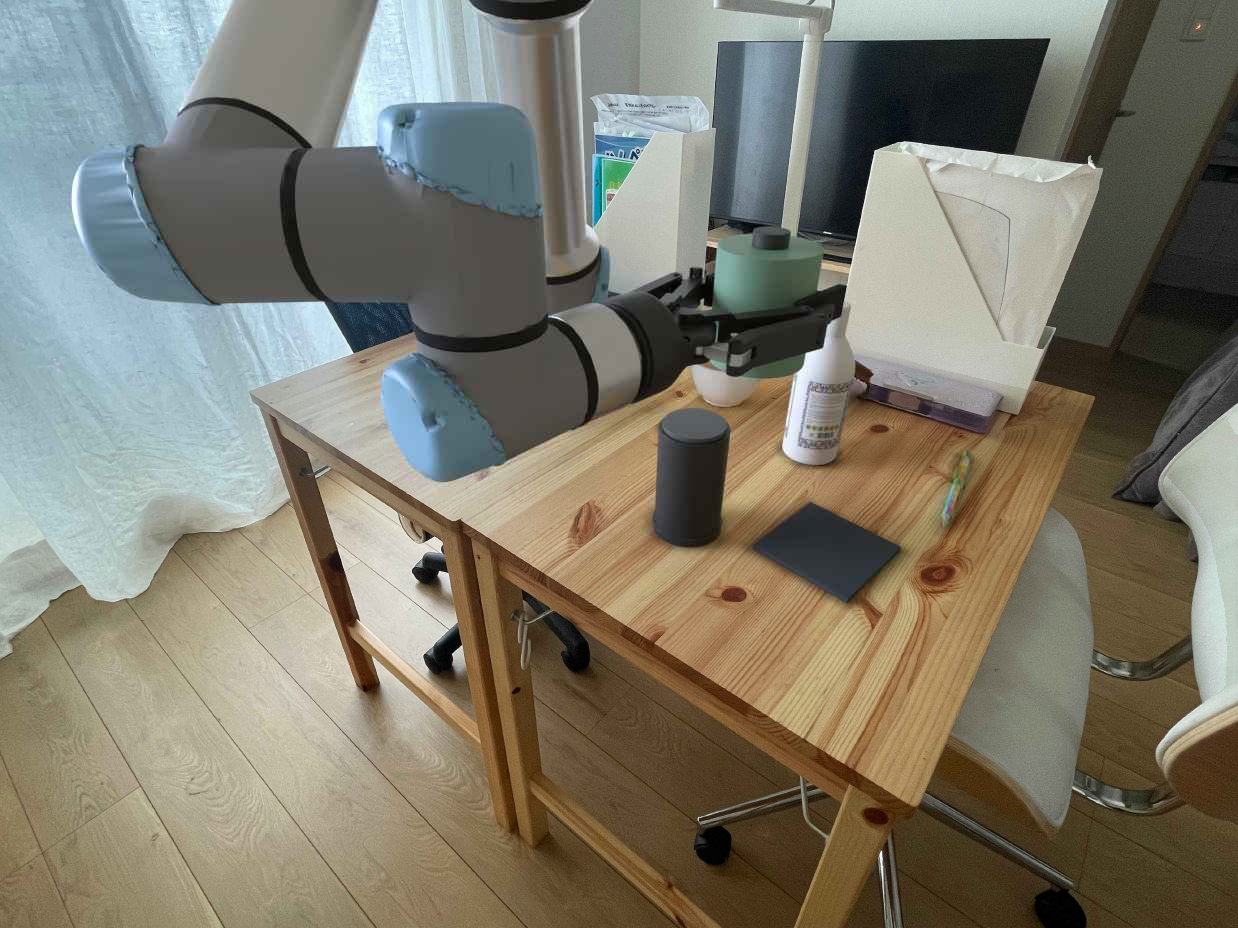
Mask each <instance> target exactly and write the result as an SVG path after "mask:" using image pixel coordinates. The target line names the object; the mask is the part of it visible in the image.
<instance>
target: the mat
mask: <svg viewBox="0 0 1238 928" xmlns="http://www.w3.org/2000/svg"><path fill="white" fill-rule="evenodd" d="M752 549H753V550H754V551H756V552H758V553H760V554H761V555H763V556H765V557H767V558H768V559H770V560H771V561H774V562H775V563H777V564H778V565H781V566H782V567H783V568H785V569H787V570H789V571H791V572H792V573H795V574H796V575H797V576H799V577H801V578H803V579H804V580H806V581H808V582H809V583H811V584H813V585H814V586H816V587H818V588H820V589H821V590H823V591H825V592H826V593H828V594H830V595H832V597H833V596H834V597H835V598H837V599H838V600H841V601H842V602H844V603H845V604H848V603H849V602H850V601H851V600H852V599H853V598H854V597H855V596H856V595H857V594H858V593H859V592H860V591H861V590H862V589H863V588H864V587H865V586H866V585H868V584H869V582H870V581H871V580H873V579H874V578H875V577H876V576H877V575H878V574H879V572H881V571H882V570H883V569H884V568H885V567H886V566H887V565H888V564H889V563H890V562H891V561H892V560H893V559H894V558H895V557H896V556H897V555H898V554H899V553H900V552H901V551H902V546H901V545H899V544H897V543H895V542H892V541H890V540H888V539H887V538H885V537H882V536H881V535H879V534H877V533H874V532H872V531H871V530H868V529H866V528H865V527H862V526H860V525H859V524H856V523H854V522H852V521H850V520H848V519H846V518H844V517H842V516H840V515H838V514H836V513H834V512H832V511H831V510H828V509H827V508H824V507H822V506H820V505H818V504H816V503H814V502H812V501H809V502H807V503H806V504H805V505H804V506H803V507H801V508H800V509H798V510H797V511H796V512H794V513H793V514H792V515H791V516H789V517H788V518H786V519H785V520H784V521H782V522H781V523H779V524H778V525H777V526H776V527H774V528H773V529H772V530H770V531H769V532H768V533H766V534H765V535H763V536H762V537H761V538H759V539H758V540H757V541H756V542H754V543H753V544H752Z"/></svg>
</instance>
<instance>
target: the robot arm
mask: <svg viewBox="0 0 1238 928" xmlns="http://www.w3.org/2000/svg"><path fill="white" fill-rule="evenodd" d="M467 1H468V5H469V6H470V7H471V8H472V9H473V11H475V12H476V13H477V14H478V15H479V16H481V18H483V19H484V20H485V21H486V22H487V24H488V33H489V38H490V45H491V46H490V47H491V52H492V60H493V66H494V73H495V81H496V88H497V95H498V102H486V101H485V102H484V101H441V102H440V101H439V102H409V103H408V102H406V103H400V104H399V103H398V104H391V105H388V106H386V107H385V108H383V109H381V111H380V112H379V114H378V117H377V120H376V124H377V125H376V127H377V132H376V133H377V134H376V135H377V139H376V142H375V143H376V145H369V146H368V145H366V146H364V145H363V146H341V147H340V146H338V145H339V141H340V138H341V134H342V131H343V129H344V124H345V122H346V117H347V114H348V110H349V108H350V104H351V100H352V97H353V95H354V91H355V87H356V84H357V80H358V77H359V73H360V71H361V67H362V63H363V60H364V57H365V55H366V54H365V53H366V50H367V46H368V43H369V39H370V36H371V33H372V29H373V26H374V23H375V20H376V17H377V13H378V10H379V7H380V2H381V0H232V1H231V3H230V5H229V7H228V9H227V11H226V14H225V15H224V17H223V19H222V22H221V23H220V26H219V28H218V30H217V32H216V34H215V36H214V38H213V40H212V42H211V44H210V46H209V48H208V50H207V52H206V54H205V56H204V59H203V60H202V63H201V65H200V66H199V69H198V71H197V73H196V75H195V77H194V78H193V81H192V83H191V85H190V87H189V89H188V91H187V93H186V95H185V97H184V99H183V101H182V103H181V105H180V107H179V109H178V112H177V115H176V118H174V119H173V122H172V124H171V126H170V128H169V130H168V132H167V134H166V136H165V139H164V140H163V142H162V144H159V145H158V146H155V147H149V146H146V145H145V144H143V143H134V144H128V145H127V146H126V147H125V148H123V147H122V148H113V149H112V148H111V149H102V150H100V151H97V152H96V153H93V154H92V155H88V156H87V157H86V158H85V159H83V161H82V162H81V164H80V165H79V166H78V168H77V170H76V173H75V175H74V178H73V181H72V185H71V186H72V187H71V209H72V215H73V221H74V224H75V228H76V230H77V233H78V235H79V238H80V241H81V244H82V245H83V247H84V249H85V251H86V252H87V254H88V256H89V257H90V259H91V261H92V262H93V263H94V265H95V266H96V267H97V268H98V269H100V270H101V271H102V272H103V273H104V275H105V277H106V278H107V279H108V280H110V281H111V282H112V283H113V285H115V286H116V287H117V288H119V289H120V290H123V291H124V292H125V293H128V294H129V295H131V296H134V297H137V298H139V299H142V300H143V299H144V300H148V301H154V302H155V301H156V302H167V303H181V304H192V305H193V304H194V305H195V304H197V305H205V306H208V307H221V306H222V305H223V304H224V305H226V304H228V305H229V304H264V303H265V304H270V303H271V304H272V303H273V304H275V303H276V304H277V303H279V304H281V303H402V304H407V306H408V310H409V314H410V317H411V321H412V328H413V333H414V338H415V344H416V352H412V353H410V354H405V357H403V358H400V359H398V360H396V361H394V362H392V363H390V364H389V365H388V366H387V367H386V369H384V371H383V373H382V376H381V379H380V385H381V393H380V402H381V406H382V412H383V414H384V417H385V421H386V424H387V426H388V429H389V431H390V434H391V436H392V438H393V440H394V441H395V444H396V445H397V448H398V449H399V451H400V453H401V454H402V456H403V457H404V458H405V460H406V461H407V462H408V464H410V466H411V467H412V468H413V469H415V470H416V471H418V472H419V473H420V474H421V475H422V477H424V478H425V479H428V480H430V481H433V482H436V483H449V482H454V481H457V480H459V479H461V478H464V477H467V476H470V475H473V474H475V473H478V472H480V471H483V470H486V469H489V468H491V467H500V466H503V465H505V463H506V462H508V461H510V460H512V459H514V458H516V457H518V456H520V455H522V454H524V453H526V452H528V451H531V450H532V449H534V448H536V447H538V446H541V445H542V444H544V443H547V442H548V441H551V440H552V439H555V438H557V437H558V436H560V435H562V434H565V433H568V432H569V431H574V430H577V429H578V428H581V427H584V426H585V425H587V424H589V423H592V422H593V421H596V420H599V419H601V418H603V417H606V416H608V415H610V414H613V413H615V412H618V411H620V410H622V409H624V408H626V407H627V406H630V405H635V404H637V403H639V402H641V401H644V400H646V399H649V398H651V397H653V396H655V395H658V394H660V393H662V392H665V391H666V390H668V389H669V388H671V387H672V386H673V385H674V384H675V382H676V381H677V380H678V379H679V377H680V376H681V374H682V373H683V372H684V370H685V369H686V368H687V367H691V366H692V365H700V364H705V363H707V362H709V361H710V360H715V361H718V362H721V363H725V364H726V374H727V375H728V376H731V377H740V376H742V375H743V374H745V373H746V372H748V371H749V370H751V369H752V368H755V367H758V366H762V365H766V364H769V363H773V362H776V361H780V360H783V359H787V358H790V357H794V356H797V355H801V354H805V353H808V352H812V351H815V350H819V349H822V348H823V347H824V342H825V336H826V331H827V326H828V324H830V323H831V321H833V320H835V319H837V318H839V317H841V315H842V310H843V305H844V301H845V299H846V295H847V290H848V285H846V284H842V283H838V284H835V285H832V286H830V287H827V288H824V289H821V290H820V291H817V293H814V294H812V295H809V296H807V297H804V298H802V299H799V300H796V304H795V307H787V308H778V309H770V310H761V311H752V312H743V313H734V314H732V313H731V312H730V311H728V310H727V309H725V308H721V309H712V302H713V290H714V279H715V272H712V273H709V274H706V275H705V276H704V268H703V267H701V266H691V267H689V274H688V277H686V279H685V278H683V274H682V273H680V272H678V271H674V272H670V273H668V274H665V275H663V276H661V277H659V278H657V279H655V280H653V281H651V282H648V283H646V284H643V285H641V286H639V287H637V288H634V289H632V290H631V291H628V292H626V293H621V294H616V295H612V296H609V287H610V279H611V252H610V248H609V247H607V246H604V245H603V244H600V241H599V240H600V239H599V237H598V234H597V233H596V232H595V230H594V229H593V228H592V227H591V226H590V225H589V224H587V197H586V196H587V195H586V172H585V171H586V169H585V145H584V117H583V93H582V92H583V90H582V64H581V35H580V19H581V17H582V16H583V15H584V13H585V12H586V11H587V10H588V9H589V8H590V7H591V5H592V4H593V2H594V1H595V0H467ZM702 300H703V306H705V307H707V308H711V309H704V310H698V308H699V307H700V306H701V304H702V303H701V302H702ZM717 321H719V325H718V335H717V342H715V341H716V331H717V325H716V322H717Z"/></svg>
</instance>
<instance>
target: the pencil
mask: <svg viewBox="0 0 1238 928" xmlns="http://www.w3.org/2000/svg"><path fill="white" fill-rule="evenodd" d="M974 457H975V455H974V451H973V450H969V449H966V450H964V451H963V452H962V455H961V458H960V461H959V464H958V468H957V471H956V473H955V477H954V479H953V482H952V485H951V488H950V491H949V493H948V495H947V496H948V497H947V499H946V502H945V505H944V508H943V511H942V513H941V521H942V527H943V529H945V528H946V527H947V526H948V525H949V524H950V523H951V522H952V521H953V520H954V517H955V513H956V511H957V508H958V505H959V501H960V498H961V495H962V492H963V488H964V485H965V484H966V483H965V482H966V479H967V477H968V473H969V470H970V467H971V464H972V462H973V458H974Z"/></svg>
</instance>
